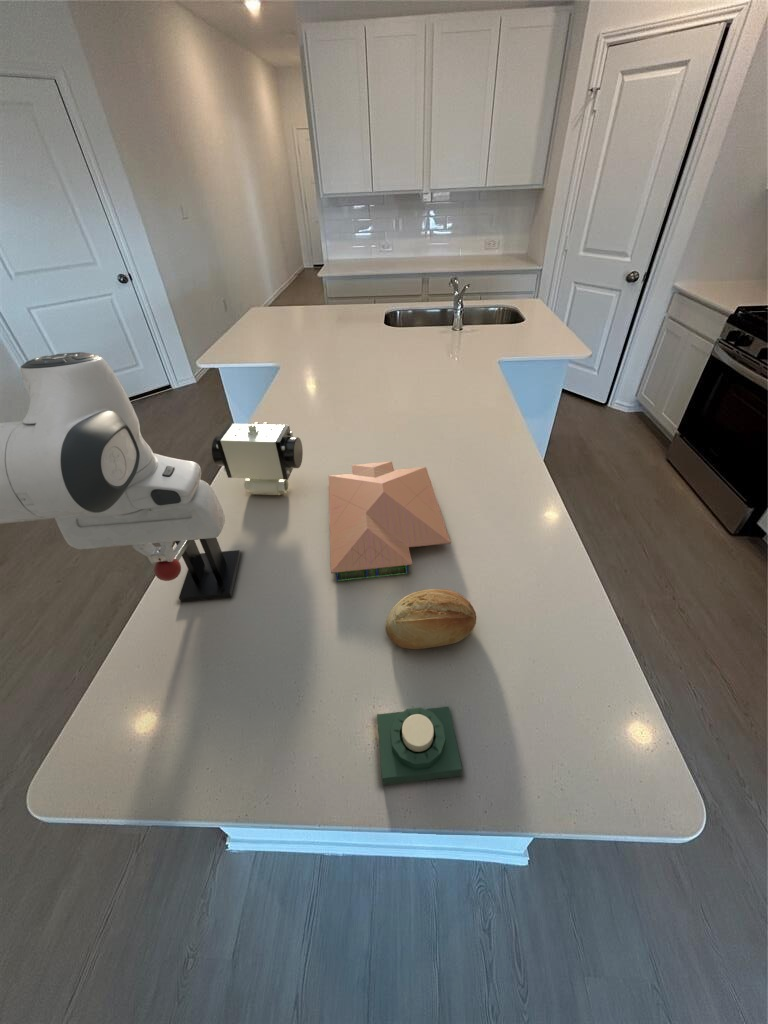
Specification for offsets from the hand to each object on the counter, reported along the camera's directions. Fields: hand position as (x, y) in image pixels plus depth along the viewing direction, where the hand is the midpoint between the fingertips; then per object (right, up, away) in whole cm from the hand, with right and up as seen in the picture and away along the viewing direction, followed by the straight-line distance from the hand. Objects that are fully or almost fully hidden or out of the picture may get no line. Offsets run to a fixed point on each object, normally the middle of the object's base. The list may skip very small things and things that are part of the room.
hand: (163, 559), depth 64 cm
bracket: (-1, -5, +20) cm, 20 cm away
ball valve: (+5, +12, +40) cm, 42 cm away
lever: (0, -1, +7) cm, 7 cm away
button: (+36, -22, -7) cm, 43 cm away
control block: (+36, -25, -5) cm, 44 cm away
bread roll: (+40, -13, +9) cm, 43 cm away
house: (+32, +5, +31) cm, 45 cm away
